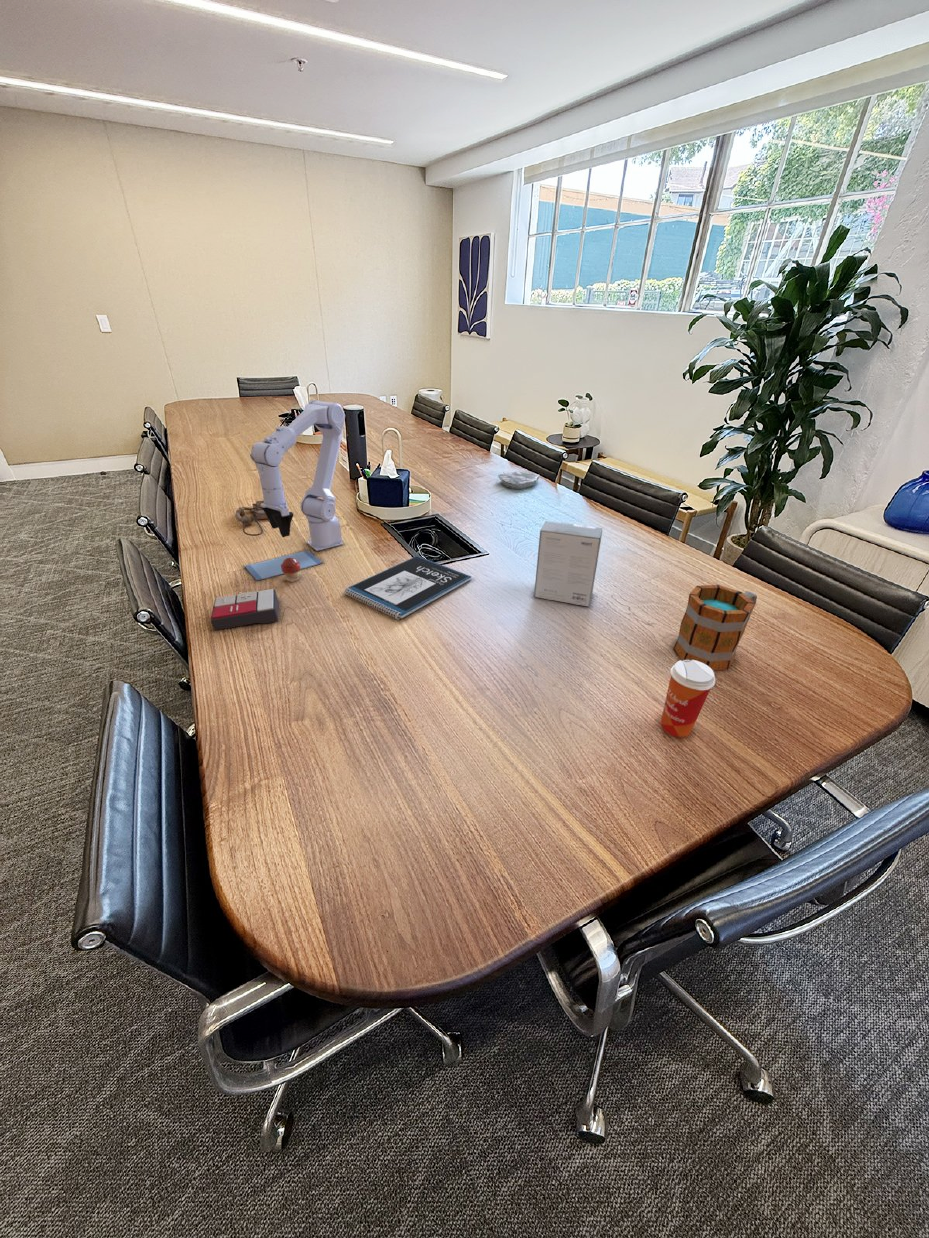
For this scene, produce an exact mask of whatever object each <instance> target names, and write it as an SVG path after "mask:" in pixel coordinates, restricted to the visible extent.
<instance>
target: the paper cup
mask: <svg viewBox="0 0 929 1238" xmlns="http://www.w3.org/2000/svg"><path fill="white" fill-rule="evenodd" d="M669 673H670V678H669V681H668V682H669V683H668V688H667V690H666V691H667V692H666V697H665V700H664V706H663V709H662V710H663V711H662V714H661V720H660V726H661V729H662V730H663V731H664V732H665V733H667V734H668V735H670V736H672V737H676V738H686V737H688V736H689V735H690V734H691V732H692V731H693V729H694V727H695V725H696V722H697V720H698V718H699V716H700V713H701V712H702V709H703V706H704V705H705V703H706V700H707V698H708V695H709V694H710V692H711V689H712V688H713V687H714V686H715V684H716V678H715V671H714V670H712V669H711V668H710V667H709V666H707V665H706V664H704V663H702V662H699V661H696V660H691V661H690V660H683V661H682V659H680V660H678V661H676V662H675V663H674V665H672V666H671V668H670V670H669Z"/></svg>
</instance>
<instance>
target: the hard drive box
mask: <svg viewBox="0 0 929 1238" xmlns="http://www.w3.org/2000/svg"><path fill="white" fill-rule="evenodd" d="M603 530H604V528H603V527H597V526H590V525H581V524H575V523H566V522H565V523H564V522H559V521H558V522H557V521H550V520H549V521H548V520H545V521H544V523H543V524H542V526H541V528H540V530H539V539H538V548H537V549H538V551H537V560H536V561H537V562H536V572H535V582H534V593H533V597H534V598H537V599H538V598H539V599H543V600H544V599H545V600H548V601H555V602H560V603H566V604H571V605H577V606H584V607H590V606H591V602H592V598H593V593H594V586H595V580H596V575H597V574H596V573H597V567H598V561H599V556H600V555H599V554H600V549H601V543H602V536H603Z"/></svg>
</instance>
